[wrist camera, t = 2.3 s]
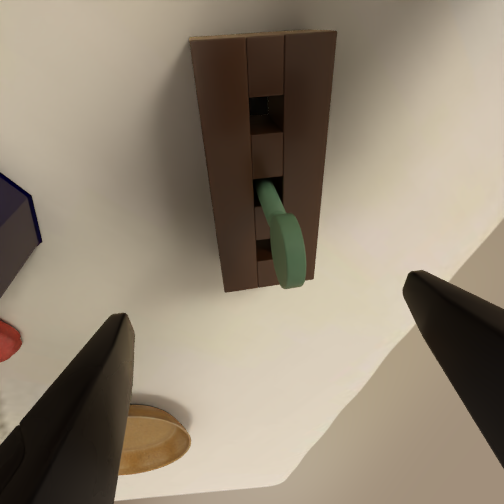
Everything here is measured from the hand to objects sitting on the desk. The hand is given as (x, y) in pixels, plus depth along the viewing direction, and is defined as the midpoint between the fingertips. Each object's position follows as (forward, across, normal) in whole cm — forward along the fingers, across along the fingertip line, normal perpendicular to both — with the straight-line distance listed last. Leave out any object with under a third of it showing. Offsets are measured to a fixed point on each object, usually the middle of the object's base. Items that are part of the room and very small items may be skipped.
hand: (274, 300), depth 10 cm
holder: (+13, -2, +1) cm, 13 cm away
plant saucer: (+13, +15, +32) cm, 38 cm away
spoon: (+13, -2, +1) cm, 13 cm away
